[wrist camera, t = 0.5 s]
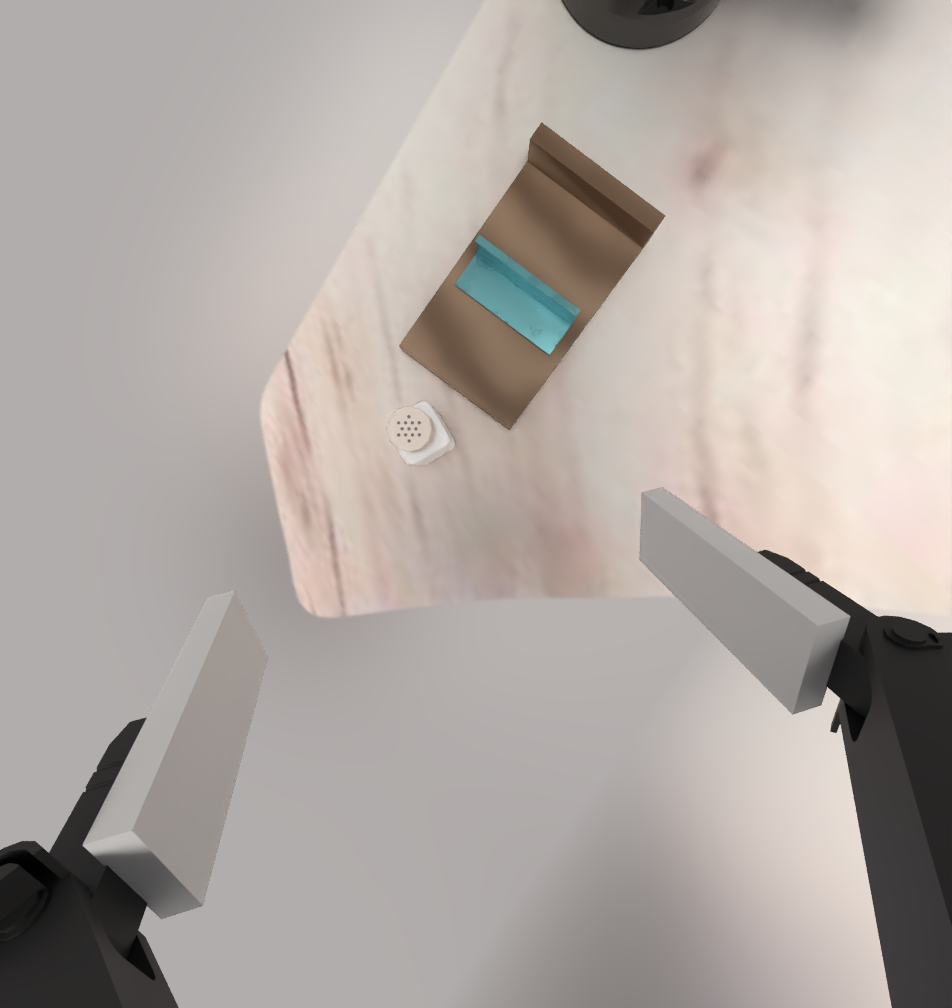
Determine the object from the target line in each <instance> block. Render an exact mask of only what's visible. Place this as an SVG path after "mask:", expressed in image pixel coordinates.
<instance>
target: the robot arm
mask: <svg viewBox="0 0 952 1008" xmlns="http://www.w3.org/2000/svg"><path fill="white" fill-rule="evenodd" d="M563 2H564V3H565V5H566V7H567V8H568V10H569V12H570V13H571V14H572V16H573V17H574V18H575V19H576V20H577V21H578V22H579V23H580V24H581V25H582V26H583V27H584V28H585V29H586V30H588V31H589V32H590V33H592V34H593V35H595V36H596V37H598V38H600V39H602V40H604V41H606V42H609V43H612V44H615V45H618V46H623V47H630V48H647V47H654V46H659V45H663V44H666V43H669V42H672V41H674V40H676V39H679V38H680V37H682V36H684V35H686V34H687V33H689V32H691V31H692V30H693V29H695V28H696V27H697V26H698V25H700V24H701V23H702V22H703V21H704V20H705V19H706V18H707V17H708V16H709V15H710V14H711V13H712V11H713V10H714V9H715V8H716V6H717V5H718V3H719V2H720V0H563ZM639 560H640V561H641V562H642V563H643V564H644V565H645V566H646V567H647V568H648V569H649V570H650V571H651V572H652V573H653V574H654V575H655V576H656V577H657V578H658V579H659V580H660V581H661V582H662V583H663V584H664V585H665V586H666V587H667V588H668V589H669V590H670V591H671V592H672V593H673V594H674V595H675V596H676V597H677V598H678V599H679V600H680V601H681V602H682V603H683V604H684V605H685V606H686V607H687V608H688V609H689V610H690V611H691V612H692V613H693V614H694V615H695V616H696V617H697V618H698V619H699V620H700V621H701V622H702V623H703V624H704V625H705V626H706V628H708V629H709V630H710V631H711V633H713V635H714V636H715V637H716V638H717V639H718V640H720V642H721V643H722V644H723V645H724V646H725V647H726V648H727V649H728V650H730V652H731V653H732V654H733V655H734V656H735V657H736V658H737V659H738V660H739V661H740V662H741V663H742V664H743V665H744V666H745V667H746V668H747V669H748V670H749V671H750V672H751V673H752V674H753V675H754V676H755V677H756V678H757V679H758V680H759V681H760V682H761V683H762V684H763V685H764V686H765V687H766V688H767V689H768V690H769V691H770V692H771V693H772V694H773V695H774V696H775V697H776V698H777V699H778V700H779V701H780V702H781V703H782V704H783V705H784V706H785V707H786V708H787V709H788V710H789V711H790V712H791V713H792V714H796V713H799V712H802V711H805V710H808V709H811V708H814V707H817V706H820V705H821V704H822V701H823V698H824V695H825V692H826V689H827V687H828V688H829V689H831V690H832V691H833V692H834V693H835V694H836V695H837V696H838V697H840V702H839V704H838V707H837V710H836V712H835V715H834V718H833V721H832V724H831V732H834V733H836V732H837V730H838V727H839V725H840V724H841V729H842V734H843V740H844V745H845V751H846V756H847V761H848V767H849V773H850V778H851V784H852V790H853V795H854V801H855V806H856V812H857V817H858V823H859V828H860V834H861V839H862V845H863V850H864V856H865V861H866V867H867V873H868V878H869V884H870V889H871V895H872V900H873V905H874V911H875V917H876V922H877V928H878V933H879V939H880V944H881V950H882V956H883V961H884V967H885V972H886V978H887V983H888V989H889V994H890V999H891V1005H892V1008H952V633H937V632H936V631H935V630H933V629H932V628H930V627H928V626H926V625H923V624H921V623H919V622H917V621H914V620H910V619H906V618H902V617H896V616H881V617H878V616H876V615H874V614H873V613H871V612H870V611H868V610H867V609H865V608H864V607H862V606H861V605H859V604H857V603H856V602H854V601H853V600H851V599H850V598H848V597H847V596H845V595H844V594H842V593H841V592H839V591H837V590H836V589H834V588H833V587H831V586H830V585H828V584H827V583H825V582H824V581H820V580H819V578H818V577H816V576H814V575H813V574H811V573H810V572H806V571H805V569H804V568H802V567H801V566H799V565H798V564H796V563H794V562H793V561H791V560H790V559H788V558H786V557H784V556H781V555H778V554H776V553H773V552H770V551H768V550H763V551H759V552H756V551H755V550H753V549H752V548H750V547H749V546H747V545H746V544H745V543H743V542H742V541H740V540H739V539H737V538H736V537H734V536H733V535H731V534H730V533H728V532H727V531H726V530H724V529H723V528H721V527H720V526H718V525H717V524H715V523H714V522H712V521H711V520H710V519H708V518H707V517H705V516H704V515H702V514H701V513H699V512H698V511H696V510H695V509H694V508H692V507H691V506H689V505H688V504H686V503H685V502H683V501H682V500H680V499H679V498H678V497H676V496H675V495H673V494H672V493H670V492H669V491H667V490H666V489H664V488H663V487H662V488H658V489H654V490H650V491H646V492H642V501H641V529H640V558H639ZM267 659H268V655H267V653H266V651H265V649H264V647H263V645H262V643H261V641H260V639H259V637H258V635H257V633H256V631H255V629H254V627H253V625H252V623H251V621H250V619H249V617H248V615H247V613H246V612H245V609H244V607H243V605H242V603H241V601H240V599H239V597H238V595H237V593H236V591H230V592H226V593H222V594H218V595H214V596H209V597H208V598H207V600H206V602H205V604H204V606H203V608H202V610H201V612H200V614H199V616H198V618H197V620H196V622H195V624H194V626H193V628H192V630H191V632H190V634H189V636H188V637H187V640H186V642H185V643H184V645H183V647H182V650H181V651H180V654H179V655H178V657H177V659H176V661H175V663H174V665H173V667H172V669H171V671H170V673H169V675H168V677H167V679H166V681H165V683H164V685H163V687H162V689H161V691H160V693H159V695H158V697H157V699H156V701H155V703H154V705H153V707H152V709H151V711H150V713H149V715H148V717H147V718H143V719H139V720H136V721H132V722H130V723H129V724H128V725H127V726H126V727H125V728H124V729H123V730H122V731H121V733H120V734H119V735H118V736H117V737H116V738H115V739H114V740H113V741H112V743H111V744H110V745H109V746H108V748H107V750H106V752H105V754H104V755H103V757H102V759H101V761H100V763H99V764H98V766H97V772H94V773H93V775H92V777H91V779H90V781H89V782H88V784H87V786H86V792H83V793H82V795H81V797H80V799H79V800H78V802H77V804H76V806H75V807H74V809H73V811H72V813H71V815H70V816H69V818H68V820H67V822H66V824H65V825H64V827H63V829H62V831H61V832H60V834H59V836H58V838H57V840H56V841H55V843H54V845H53V847H52V849H51V851H50V852H49V853H48V852H47V851H46V850H45V849H43V848H42V847H41V846H40V845H39V844H38V843H36V842H35V841H21V842H19V843H16V844H13V845H11V846H8V847H5V848H3V849H1V850H0V1008H178V1005H177V1003H176V1001H175V1000H174V997H173V995H172V993H171V991H170V988H169V987H168V984H167V982H166V980H165V978H164V976H163V973H162V971H161V969H160V967H159V965H158V963H157V961H156V959H155V956H154V954H153V952H152V950H151V948H150V946H149V944H148V942H147V939H146V937H145V936H144V935H143V934H142V933H140V932H139V931H138V929H139V926H140V923H141V920H142V918H143V915H144V912H145V909H146V906H148V907H149V908H150V909H151V910H152V911H153V912H154V913H155V914H156V915H157V916H159V917H160V918H161V919H163V918H167V917H170V916H173V915H176V914H178V913H182V912H185V911H188V910H191V909H194V908H197V907H201V906H203V903H204V899H205V895H206V892H207V888H208V884H209V880H210V876H211V872H212V869H213V865H214V861H215V858H216V853H217V850H218V846H219V842H220V839H221V835H222V831H223V827H224V823H225V820H226V815H227V812H228V808H229V804H230V800H231V797H232V793H233V789H234V785H235V782H236V777H237V774H238V770H239V766H240V763H241V759H242V755H243V751H244V747H245V744H246V739H247V736H248V732H249V728H250V724H251V721H252V717H253V713H254V709H255V705H256V702H257V698H258V694H259V690H260V686H261V683H262V679H263V675H264V671H265V668H266V663H267Z"/></svg>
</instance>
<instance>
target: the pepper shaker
mask: <svg viewBox="0 0 952 1008" xmlns="http://www.w3.org/2000/svg"><path fill="white" fill-rule="evenodd" d="M386 427H387V433H388V436H389V440H390V441H391V442H392V443H393V444H394V445H395V446H396V448H397V450H398V451H399V453H400V455H401V456H402V458H403V459H404V461H405V462H406V463H408V464H409V465H415V466H423V465H426V464H428V463H430V462H432V461H433V460H435V459H437V458H438V457H440V456H442V455H444V454H445V453H447V452H449V451H450V450H452V449H453V448H454V446H455V441H454V439H453V437H452V435H451V434H450V432H449V430H448V428H447V427H446V425H445V423H444V421H443V420H442V418H441V416H440V414H439V413H438V412H437V411H436V410H435V409H434V408H433V406H432V405H431V404H429V403H428V402H427V401H422V402H419V403H417V404H415V405H413V406H406V407H403V408H399V409H397V410H396V411H395V412H394V413H393V414H392V415H391V416H390V417H389V421H388V423H387V425H386Z"/></svg>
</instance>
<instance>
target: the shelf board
mask: <svg viewBox="0 0 952 1008" xmlns="http://www.w3.org/2000/svg"><path fill="white" fill-rule="evenodd" d="M664 217H665V215H664V214H662V213H661V212H660V211H658V210H657V209H656V208H654V207H653V206H652V205H650V204H649V203H648V202H646V201H645V200H644V199H642V198H641V197H640V196H638V195H637V194H636V193H634V192H633V191H632V190H630V189H629V188H628V187H626V186H625V185H624V184H622V183H621V182H620V181H619V180H617V179H616V178H615V177H613V176H612V175H611V174H609V173H608V172H607V171H605V170H604V169H603V168H601V167H600V166H599V165H597V164H596V163H595V162H593V161H592V160H591V159H589V158H588V157H587V156H585V155H584V154H583V153H581V152H580V151H579V150H577V149H576V148H575V147H574V146H572V145H571V144H570V143H568V142H567V141H566V140H564V139H563V138H562V137H560V136H559V135H558V134H556V133H555V132H554V131H552V130H551V129H550V128H548V127H547V126H546V125H544V124H543V123H541V124H540V126H539V127H538V128H537V130H536V131H535V133H534V134H533V136H532V137H531V139H530V144H529V152H528V161H527V163H526V164H525V166H524V167H523V169H522V170H521V171H520V173H519V174H518V176H517V177H516V179H515V180H514V182H513V183H512V184H511V186H510V187H509V189H508V190H507V192H506V193H505V194H504V196H503V197H502V199H501V200H500V202H499V203H498V205H497V206H496V207H495V209H494V210H493V212H492V213H491V215H490V216H489V217H488V219H487V220H486V222H485V223H484V225H483V226H482V227H481V229H480V230H479V232H478V233H477V235H476V236H475V238H474V239H473V240H472V242H471V243H470V245H469V246H468V248H467V249H466V250H465V252H464V253H463V255H462V256H461V258H460V259H459V261H458V262H457V263H456V265H455V266H454V268H453V269H452V271H451V272H450V273H449V275H448V276H447V278H446V279H445V281H444V282H443V284H442V285H441V286H440V288H439V289H438V291H437V292H436V294H435V295H434V296H433V298H432V299H431V301H430V302H429V304H428V305H427V306H426V308H425V309H424V311H423V312H422V314H421V315H420V317H419V318H418V319H417V321H416V322H415V324H414V325H413V327H412V328H411V329H410V331H409V332H408V334H407V335H406V337H405V338H404V340H403V341H402V342H401V344H400V345H399V346H400V348H401V349H402V350H403V351H404V352H405V353H407V354H408V355H409V356H411V357H412V358H413V359H415V360H416V361H418V362H419V363H420V364H422V365H423V366H424V367H426V368H427V369H428V370H430V371H431V372H432V373H434V374H435V375H436V376H438V377H439V378H440V379H442V380H443V381H444V382H446V383H447V384H449V385H450V386H451V387H453V388H454V389H455V390H457V391H458V392H459V393H461V394H462V395H463V396H465V397H466V398H467V399H469V400H470V401H471V402H473V403H474V404H475V405H477V406H478V407H480V408H481V409H482V410H484V411H485V412H486V413H488V414H489V415H490V416H492V417H493V418H494V419H496V420H497V421H498V422H500V423H501V424H502V425H504V426H505V427H506V428H508V429H509V430H510V429H511V427H512V426H513V424H514V423H515V422H516V420H517V419H518V418H519V416H520V415H521V414H522V412H523V411H524V409H525V408H526V407H527V405H528V404H529V403H530V401H531V400H532V399H533V397H534V396H535V395H536V393H537V392H538V390H539V389H540V388H541V386H542V385H543V384H544V382H545V381H546V380H547V378H548V377H549V375H550V374H551V373H552V371H553V370H554V369H555V367H556V366H557V365H558V363H559V362H560V360H561V359H562V358H563V356H564V355H565V354H566V352H567V351H568V350H569V348H570V347H571V346H572V344H573V343H574V341H575V340H576V339H577V337H578V336H579V335H580V333H581V332H582V331H583V329H584V328H585V326H586V325H587V324H588V322H589V321H590V320H591V318H592V317H593V316H594V314H595V313H596V311H597V310H598V309H599V307H600V306H601V305H602V303H603V302H604V301H605V299H606V298H607V297H608V295H609V294H610V292H611V291H612V290H613V288H614V287H615V286H616V284H617V283H618V282H619V280H620V279H621V277H622V276H623V275H624V273H625V272H626V271H627V269H628V268H629V267H630V265H631V264H632V262H633V261H634V260H635V258H636V257H637V256H638V254H639V253H640V252H641V250H642V249H643V248H644V246H645V245H646V243H647V242H648V241H649V239H650V238H651V236H652V235H653V233H654V232H655V230H656V229H657V227H658V226H659V224H660V223H661V221H662V220H663V219H664ZM479 235H481V236H482V237H483V238H485V239H486V240H487V241H489V242H490V243H491V244H493V245H494V246H495V247H497V248H498V249H499V250H501V251H502V252H503V253H505V254H506V255H507V256H509V257H510V258H511V259H513V260H514V261H515V262H517V263H518V264H519V265H521V266H522V267H523V268H525V269H526V270H527V271H529V272H530V273H531V274H533V275H534V276H535V277H537V278H538V279H539V280H541V281H542V282H543V283H545V284H546V285H547V286H549V287H550V288H551V289H553V290H554V291H555V292H557V293H558V294H559V295H561V296H562V297H563V298H565V299H566V300H567V301H569V302H570V303H571V304H573V305H574V306H575V307H577V308H578V309H579V310H580V312H579V314H578V315H577V317H576V319H575V321H574V322H573V324H572V325H571V326H570V328H569V329H568V330H567V332H566V333H565V335H564V336H563V337H562V339H561V340H560V341H559V343H558V344H557V346H556V347H555V348H554V350H553V351H552V352H551V354H550V355H547V354H546V353H545V352H543V351H542V350H541V349H539V348H538V347H537V346H535V345H534V344H533V343H531V342H530V341H529V340H527V339H526V338H525V337H523V336H522V335H520V334H519V333H518V332H516V331H515V330H514V329H512V328H511V327H510V326H508V325H507V324H506V323H504V322H503V321H502V320H500V319H499V318H498V317H496V316H495V315H494V314H492V313H491V312H490V311H488V310H487V309H486V308H484V307H483V306H482V305H480V304H479V303H478V302H476V301H475V300H474V299H472V298H471V297H470V296H468V295H467V294H466V293H464V292H463V291H462V290H460V289H459V288H457V287H456V286H455V284H456V282H457V281H458V279H459V278H460V276H461V275H462V273H463V272H464V271H465V269H466V268H467V266H468V265H469V263H470V262H471V261H472V259H473V258H474V256H475V255H476V250H475V240H476V239H477V237H478V236H479Z"/></svg>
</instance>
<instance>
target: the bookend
mask: <svg viewBox="0 0 952 1008" xmlns="http://www.w3.org/2000/svg"><path fill="white" fill-rule="evenodd" d="M475 250H476V255H475V256H474V258H473V259H472V261H471V262H470V263H469V265H468V266H467V268H466V269H465V271H464V272H463V273H462V275H461V276H460V278H459V279H458V281H457V282H456V284H455V286H456V287H457V288H459V289H460V290H462V291H463V292H464V293H466V294H467V295H468V296H470V297H471V298H472V299H474V300H475V301H476V302H478V303H479V304H480V305H482V306H483V307H484V308H486V309H487V310H488V311H490V312H491V313H492V314H494V315H495V316H496V317H498V318H499V319H500V320H502V321H503V322H504V323H506V324H507V325H508V326H510V327H511V328H512V329H514V330H515V331H516V332H518V333H519V334H520V335H522V336H523V337H525V338H526V339H527V340H529V341H530V342H531V343H533V344H534V345H535V346H537V347H538V348H539V349H541V350H542V351H543V352H545V353H546V354H547V355H550V354H551V352H552V351H553V350H554V348H555V347H556V346H557V344H558V343H559V341H560V340H561V339H562V337H563V336H564V335H565V333H566V332H567V330H568V329H569V328H570V326H571V325H572V324H573V322H574V321H575V319H576V317H577V315H578V314H579V312H580V310H579V309H578V308H577V307H575V306H574V305H573V304H571V303H570V302H569V301H567V300H566V299H565V298H563V297H562V296H561V295H559V294H558V293H557V292H555V291H554V290H553V289H551V288H550V287H549V286H547V285H546V284H545V283H543V282H542V281H541V280H539V279H538V278H537V277H535V276H534V275H533V274H531V273H530V272H529V271H527V270H526V269H525V268H523V267H522V266H521V265H519V264H518V263H517V262H515V261H514V260H513V259H511V258H510V257H509V256H507V255H506V254H505V253H503V252H502V251H501V250H499V249H498V248H497V247H495V246H494V245H493V244H491V243H490V242H489V241H487V240H486V239H485V238H483V237H482V236H481V235H479V236H478V237H477V239H476V240H475Z"/></svg>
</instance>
